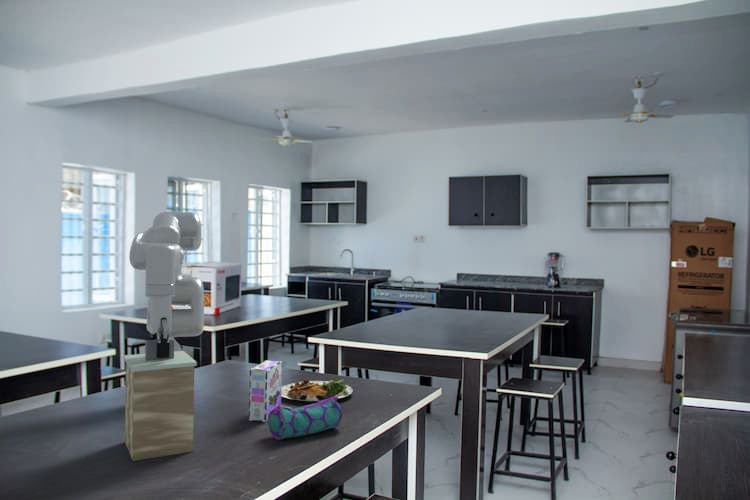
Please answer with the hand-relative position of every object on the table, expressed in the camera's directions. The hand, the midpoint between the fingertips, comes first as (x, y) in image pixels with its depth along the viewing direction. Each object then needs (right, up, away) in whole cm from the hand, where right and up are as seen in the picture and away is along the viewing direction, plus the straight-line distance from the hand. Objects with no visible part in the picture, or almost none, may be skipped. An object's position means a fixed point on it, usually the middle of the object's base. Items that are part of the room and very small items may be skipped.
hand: (159, 354), depth 159 cm
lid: (0, -2, 0) cm, 2 cm away
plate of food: (+36, -25, +55) cm, 70 cm away
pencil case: (+38, -26, +14) cm, 48 cm away
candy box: (+23, -25, +30) cm, 45 cm away
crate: (-1, -25, +1) cm, 25 cm away
